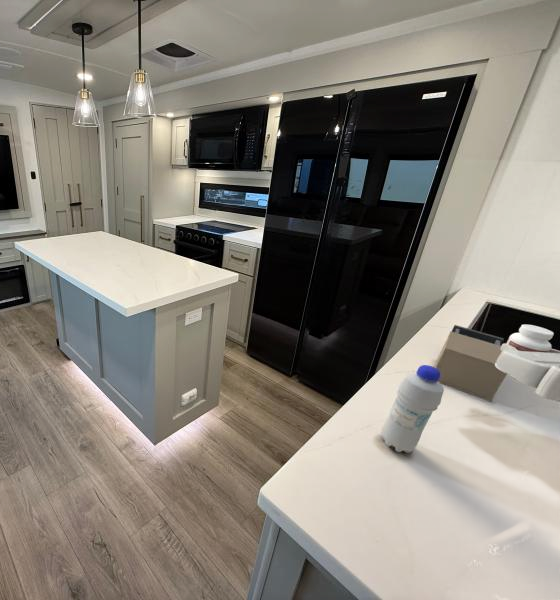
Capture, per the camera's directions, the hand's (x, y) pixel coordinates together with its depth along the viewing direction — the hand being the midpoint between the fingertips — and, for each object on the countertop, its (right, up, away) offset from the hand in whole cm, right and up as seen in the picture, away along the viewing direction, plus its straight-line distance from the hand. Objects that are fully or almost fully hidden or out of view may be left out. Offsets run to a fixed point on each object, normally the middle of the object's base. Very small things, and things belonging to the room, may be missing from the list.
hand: (521, 347), depth 69 cm
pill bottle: (0, -6, +2) cm, 6 cm away
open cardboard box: (+7, -13, +21) cm, 26 cm away
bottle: (-30, -21, -2) cm, 37 cm away
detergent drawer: (+16, -9, +29) cm, 34 cm away
